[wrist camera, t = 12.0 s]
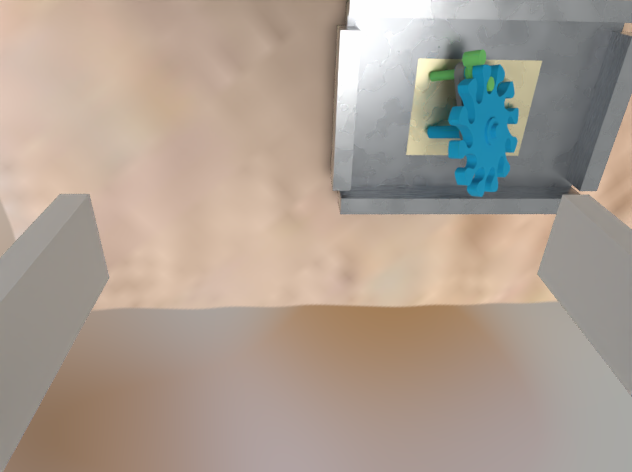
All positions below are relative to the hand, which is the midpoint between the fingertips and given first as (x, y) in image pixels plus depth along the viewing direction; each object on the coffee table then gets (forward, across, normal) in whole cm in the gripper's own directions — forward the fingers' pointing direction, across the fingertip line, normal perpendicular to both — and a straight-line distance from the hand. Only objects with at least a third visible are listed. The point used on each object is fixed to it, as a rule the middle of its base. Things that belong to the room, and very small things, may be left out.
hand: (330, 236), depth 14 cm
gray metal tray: (+29, +14, -4) cm, 32 cm away
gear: (+27, +14, -4) cm, 31 cm away
